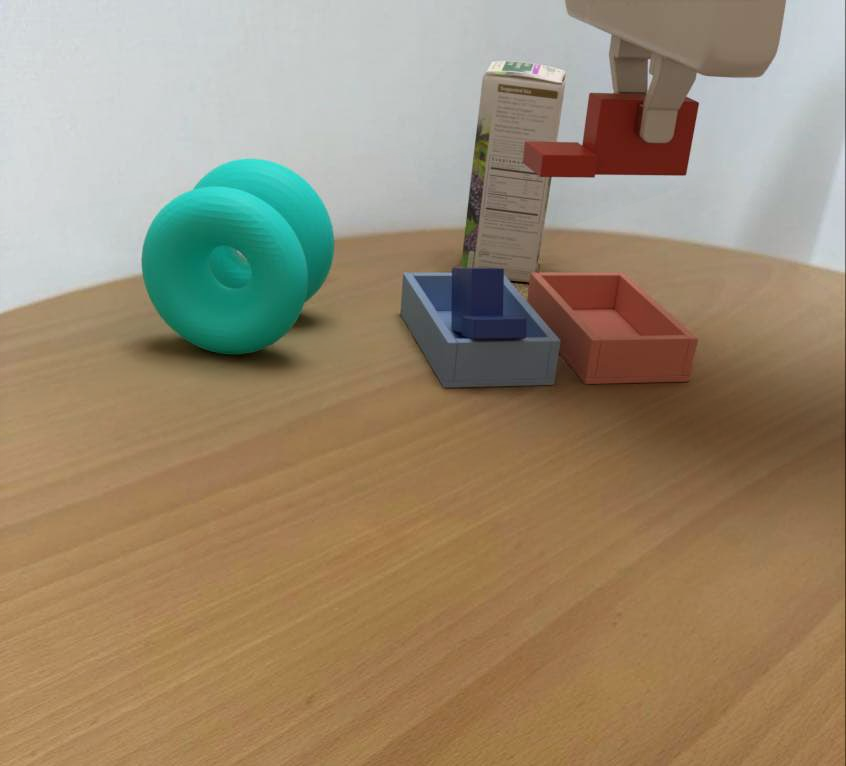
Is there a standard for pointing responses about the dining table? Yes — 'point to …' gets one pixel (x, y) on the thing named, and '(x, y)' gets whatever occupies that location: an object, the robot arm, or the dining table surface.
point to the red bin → (612, 328)
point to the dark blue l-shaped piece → (482, 305)
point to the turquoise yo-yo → (238, 256)
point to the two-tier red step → (615, 143)
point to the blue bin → (476, 358)
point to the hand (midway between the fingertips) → (639, 132)
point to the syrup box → (511, 167)
